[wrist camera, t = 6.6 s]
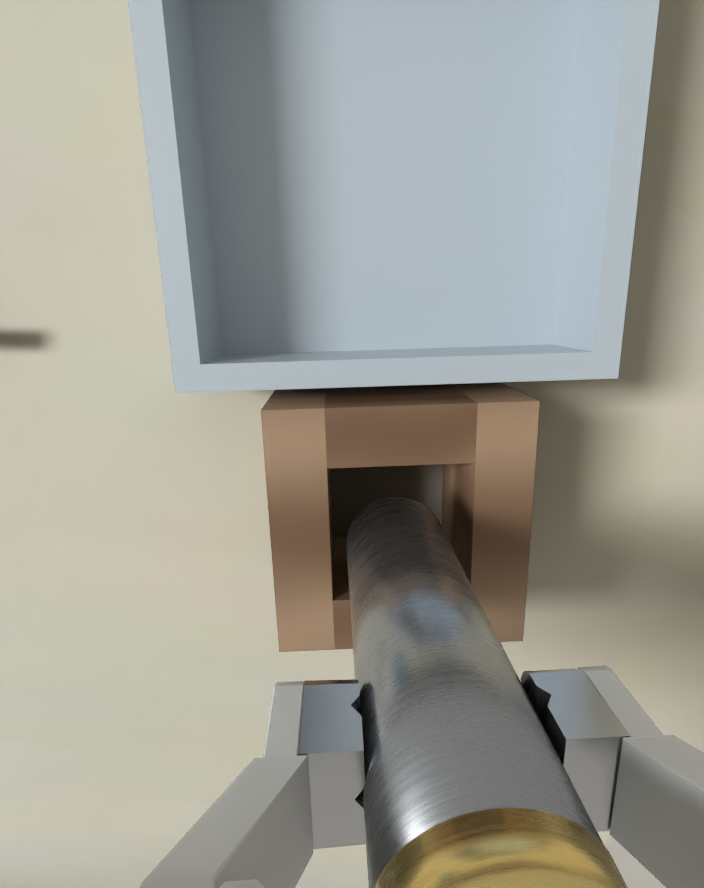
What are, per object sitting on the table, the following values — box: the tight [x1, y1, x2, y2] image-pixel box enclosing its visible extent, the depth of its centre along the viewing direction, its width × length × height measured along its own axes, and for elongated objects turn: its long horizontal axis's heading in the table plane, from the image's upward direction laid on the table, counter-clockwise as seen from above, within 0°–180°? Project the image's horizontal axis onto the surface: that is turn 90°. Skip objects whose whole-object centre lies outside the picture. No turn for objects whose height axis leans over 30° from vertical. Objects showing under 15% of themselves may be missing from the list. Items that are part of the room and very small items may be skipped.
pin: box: [346, 497, 628, 888], centre depth 10 cm, size 3×3×11 cm
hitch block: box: [261, 382, 540, 652], centre depth 18 cm, size 8×8×4 cm
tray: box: [128, 0, 660, 393], centre depth 15 cm, size 13×13×4 cm
